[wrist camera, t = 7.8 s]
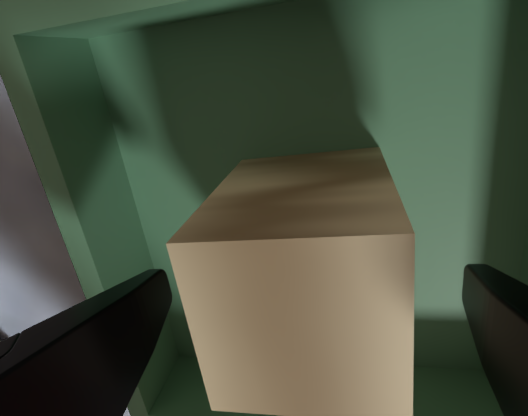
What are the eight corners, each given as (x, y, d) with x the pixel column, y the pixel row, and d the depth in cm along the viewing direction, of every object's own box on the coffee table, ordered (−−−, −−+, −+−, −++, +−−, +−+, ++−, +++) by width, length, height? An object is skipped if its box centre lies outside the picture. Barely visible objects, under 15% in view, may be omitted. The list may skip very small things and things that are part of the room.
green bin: (587, -84, 9) (747, -171, 6) (516, 367, 15) (573, 469, 11) (78, 18, 13) (-27, 4, 9) (175, 352, 18) (135, 427, 14)
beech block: (379, 146, 11) (414, 233, 6) (382, 269, 13) (413, 425, 8) (241, 159, 12) (165, 243, 7) (260, 272, 14) (211, 410, 9)
